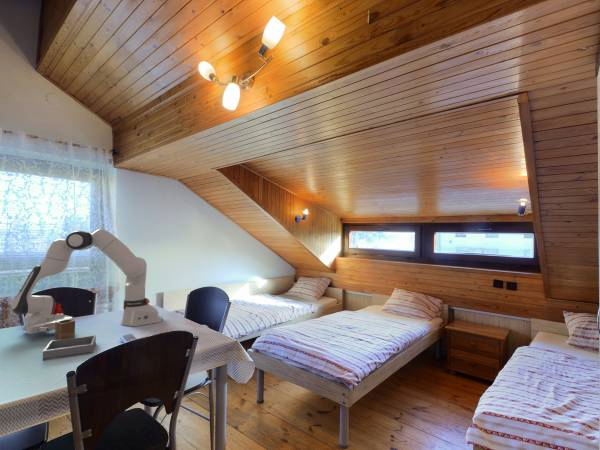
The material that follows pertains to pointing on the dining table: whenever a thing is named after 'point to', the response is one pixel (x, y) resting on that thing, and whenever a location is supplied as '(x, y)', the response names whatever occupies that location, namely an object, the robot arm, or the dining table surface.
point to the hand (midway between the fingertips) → (58, 327)
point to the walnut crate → (64, 329)
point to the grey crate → (69, 347)
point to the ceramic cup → (58, 309)
